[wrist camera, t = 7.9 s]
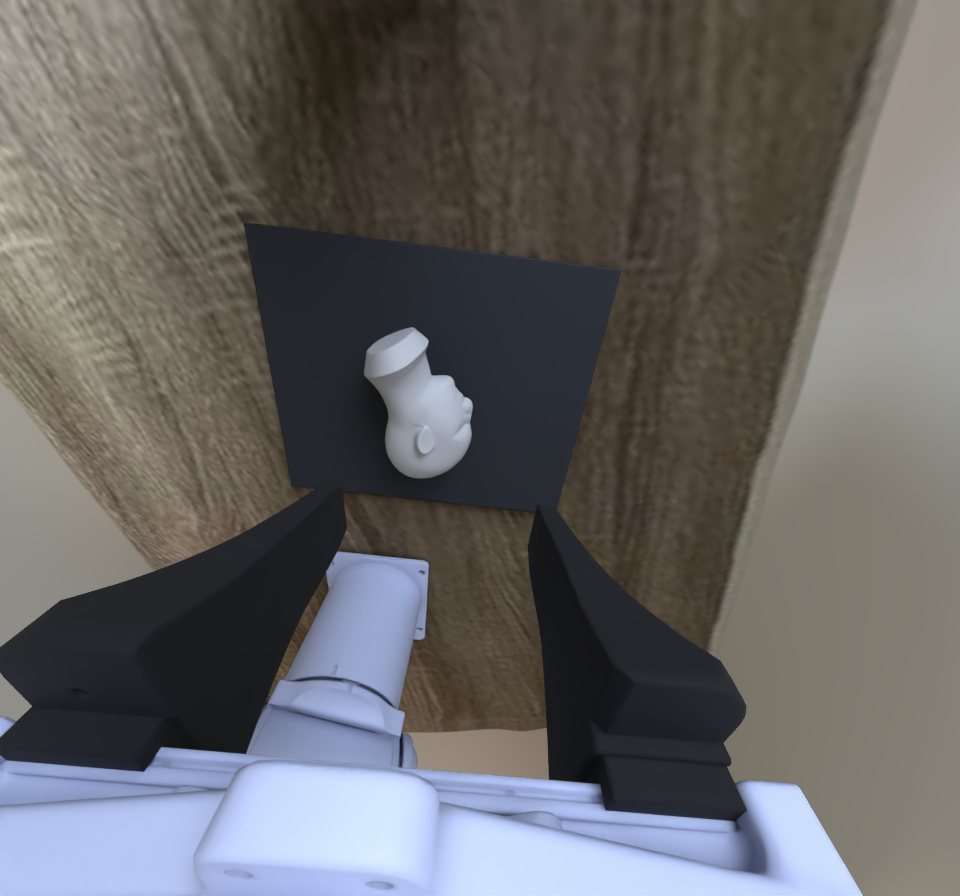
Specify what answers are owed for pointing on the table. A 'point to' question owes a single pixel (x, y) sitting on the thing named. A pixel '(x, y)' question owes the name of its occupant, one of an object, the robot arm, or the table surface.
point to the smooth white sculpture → (418, 406)
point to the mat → (428, 358)
